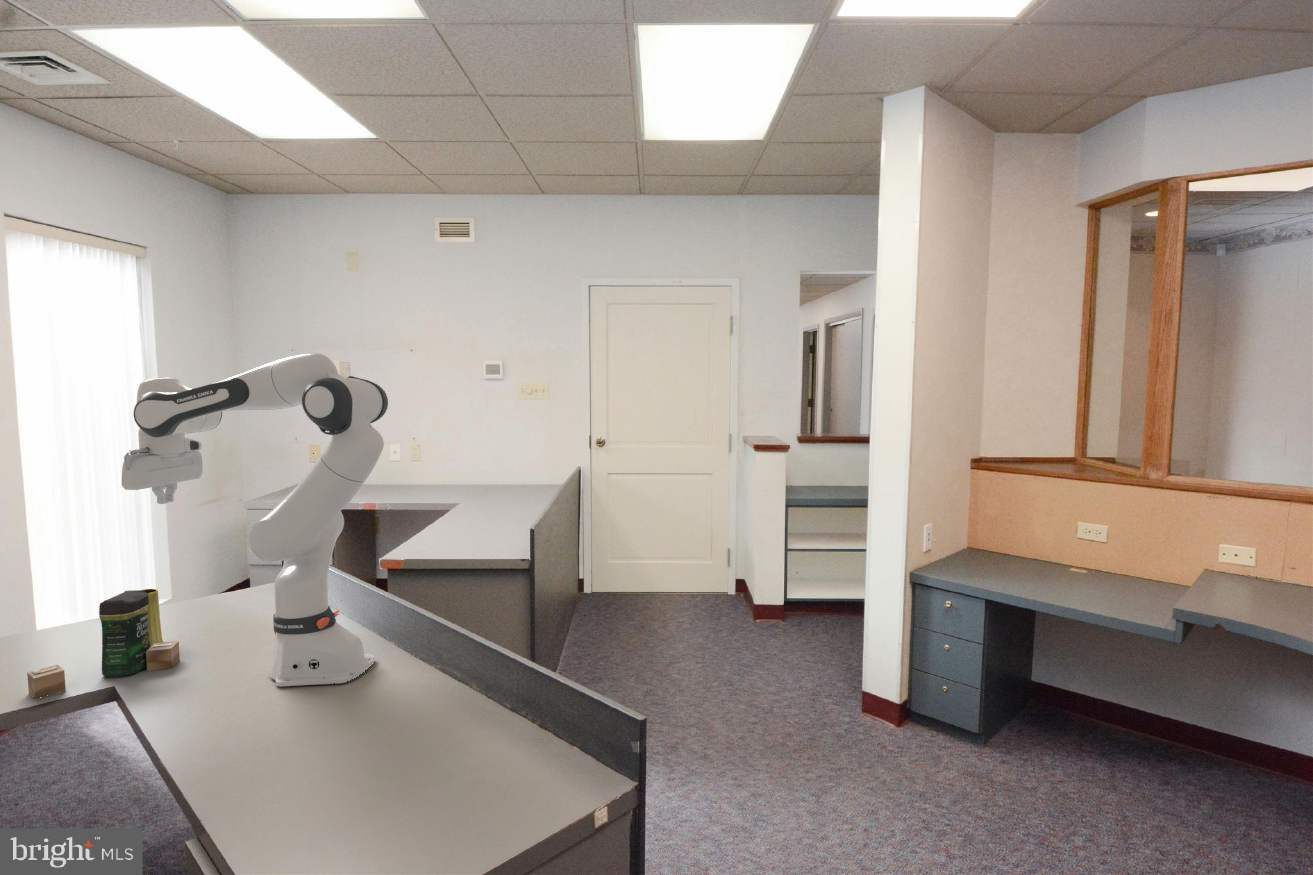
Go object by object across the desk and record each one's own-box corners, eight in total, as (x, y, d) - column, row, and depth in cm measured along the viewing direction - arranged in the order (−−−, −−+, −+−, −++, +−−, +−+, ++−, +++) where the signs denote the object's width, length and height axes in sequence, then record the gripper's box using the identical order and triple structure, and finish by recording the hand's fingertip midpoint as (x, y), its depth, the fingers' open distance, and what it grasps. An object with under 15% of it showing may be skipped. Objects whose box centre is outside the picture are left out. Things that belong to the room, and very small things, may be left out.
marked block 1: (65, 691, 144) (64, 669, 144) (35, 700, 140) (33, 677, 140) (59, 685, 147) (57, 663, 147) (28, 694, 143) (27, 671, 143)
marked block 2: (179, 660, 161) (178, 639, 160) (172, 668, 156) (171, 647, 156) (155, 663, 159) (154, 642, 159) (147, 671, 155) (145, 650, 154)
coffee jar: (133, 678, 151) (128, 599, 149) (95, 680, 150) (90, 601, 148) (159, 660, 161) (154, 586, 159) (123, 662, 159) (118, 587, 158)
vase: (169, 641, 173) (165, 588, 171) (148, 650, 166) (145, 595, 165) (147, 640, 173) (144, 587, 172) (127, 649, 167) (123, 594, 166)
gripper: (137, 450, 146) (141, 511, 147) (206, 442, 166) (209, 496, 168) (111, 450, 146) (115, 510, 148) (182, 442, 167) (185, 495, 168)
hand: (165, 502), depth 158 cm, fingers closed
